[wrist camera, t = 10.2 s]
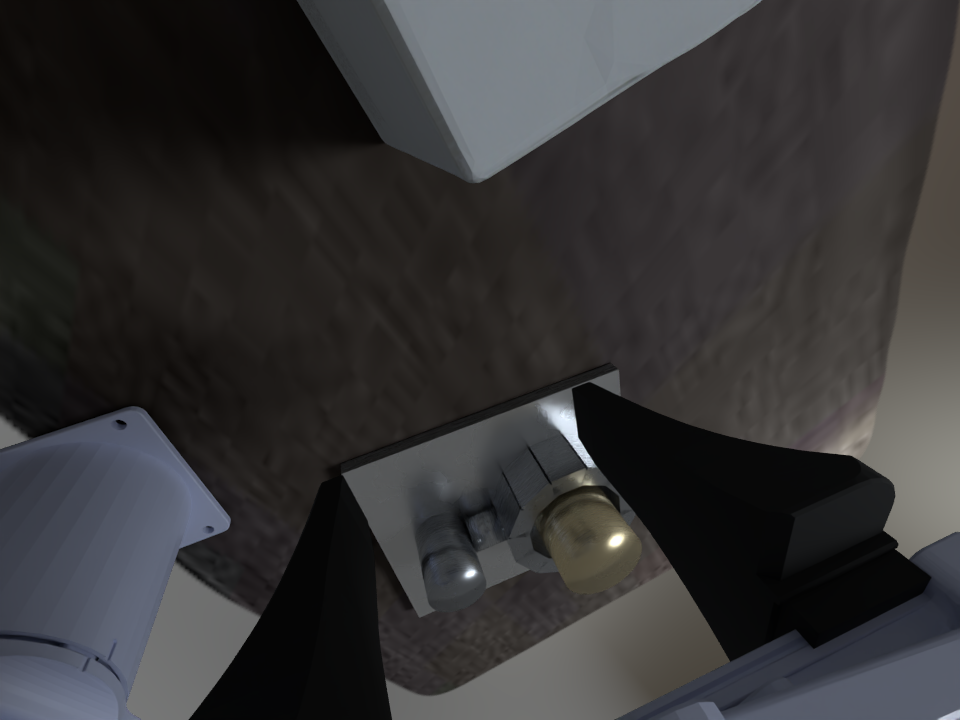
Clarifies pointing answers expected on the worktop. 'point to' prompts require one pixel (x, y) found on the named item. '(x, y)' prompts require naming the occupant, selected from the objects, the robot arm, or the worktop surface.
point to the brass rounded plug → (588, 540)
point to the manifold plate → (477, 493)
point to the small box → (500, 66)
